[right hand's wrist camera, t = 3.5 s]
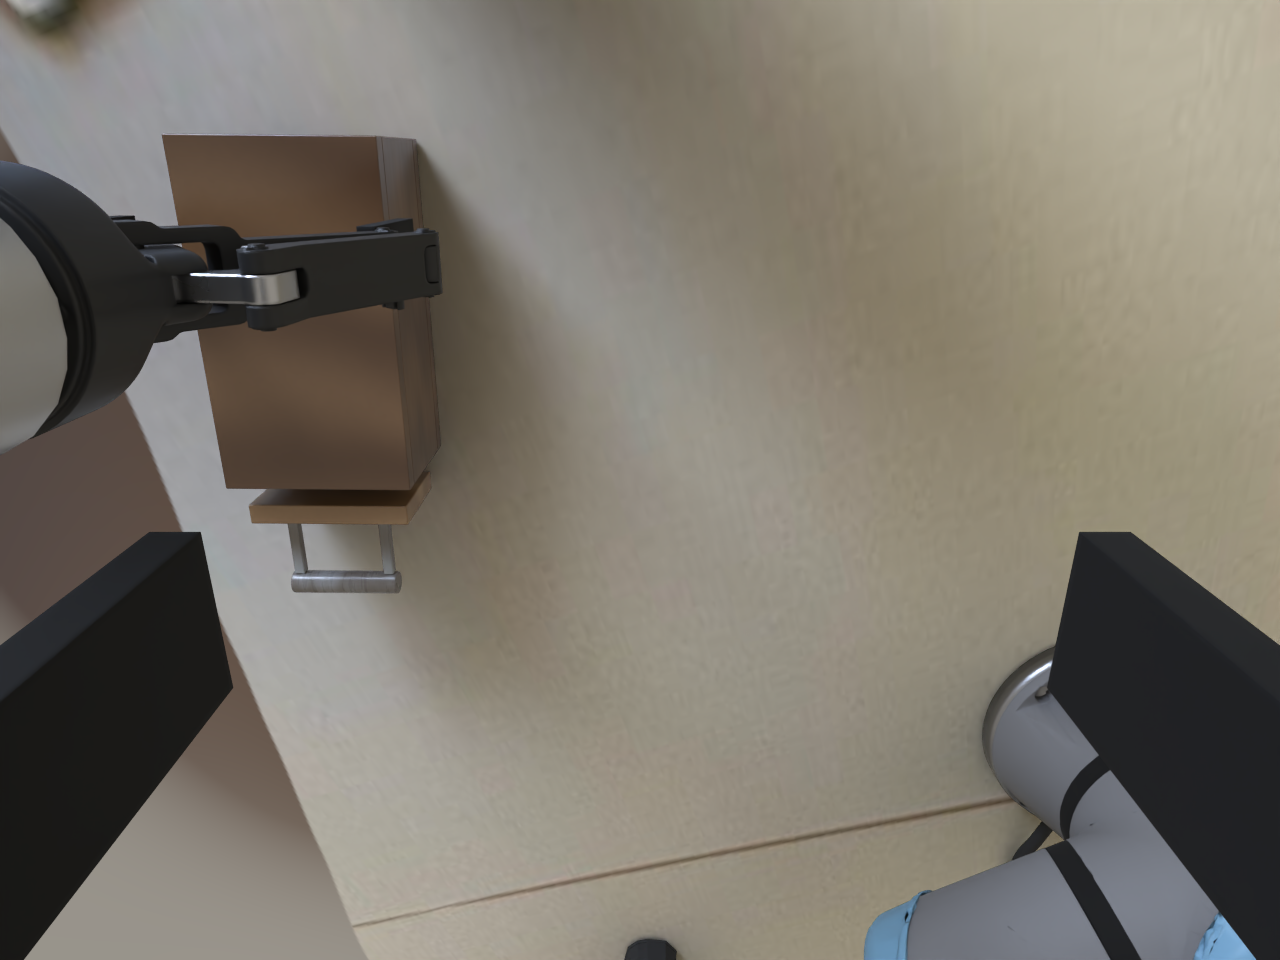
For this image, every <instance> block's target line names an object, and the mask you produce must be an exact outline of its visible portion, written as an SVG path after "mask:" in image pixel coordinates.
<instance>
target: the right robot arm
mask: <svg viewBox="0 0 1280 960" xmlns="http://www.w3.org/2000/svg"><path fill="white" fill-rule="evenodd" d="M232 689H233V684H232V680H231V675H230V670H229V665H228V661H227V656H226V651H225V646H224V641H223V637H222V632H221V627H220V622H219V617H218V613H217V608H216V603H215V598H214V593H213V589H212V584H211V579H210V574H209V570H208V565H207V560H206V555H205V550H204V546H203V541H202V536H201V532H149V533H147V534H146V535H145V536H144V537H142V538H141V539H140V540H138V541H137V542H136V543H134V544H133V545H132V546H130V547H129V548H128V549H126V550H125V551H124V552H123V553H121V554H120V555H119V556H117V557H116V558H115V559H113V560H112V561H111V562H109V563H108V564H107V565H105V566H104V567H103V568H101V569H100V570H99V571H98V572H96V573H95V574H94V575H92V576H91V577H90V578H88V579H87V580H86V581H84V582H83V583H82V584H80V585H79V586H78V587H76V588H75V589H74V590H73V591H71V592H70V593H69V594H67V595H66V596H65V597H63V598H62V599H61V600H59V601H58V602H57V603H55V604H54V605H53V606H51V607H50V608H49V609H48V610H46V611H45V612H44V613H42V614H41V615H40V616H38V617H37V618H36V619H34V620H33V621H32V622H30V623H29V624H28V625H26V626H25V627H24V628H23V629H21V630H20V631H19V632H17V633H16V634H15V635H13V636H12V637H11V638H9V639H8V640H7V641H5V642H4V643H3V644H2V645H0V960H24V959H25V957H26V956H27V955H28V954H29V952H30V951H31V950H32V948H33V947H34V946H35V944H36V943H37V942H38V941H39V939H40V938H41V937H42V935H43V934H44V933H45V931H46V930H47V929H48V928H49V926H50V925H51V924H52V922H53V921H54V920H55V918H56V917H57V916H58V915H59V913H60V912H61V911H62V909H63V908H64V907H65V905H66V904H67V903H68V902H69V900H70V899H71V898H72V896H73V895H74V894H75V893H76V891H77V890H78V888H79V887H80V886H81V885H82V883H83V882H84V881H85V880H86V878H87V877H88V876H89V874H90V873H91V872H92V870H93V869H94V868H95V866H96V865H97V864H98V863H99V861H100V860H101V859H102V857H103V856H104V855H105V853H106V852H107V851H108V850H109V848H110V847H111V846H112V844H113V843H114V842H115V841H116V839H117V838H118V837H119V835H120V834H121V833H122V831H123V830H124V829H125V828H126V826H127V825H128V824H129V822H130V821H131V820H132V818H133V817H134V816H135V815H136V813H137V812H138V811H139V809H140V808H141V807H142V805H143V804H144V803H145V802H146V800H147V799H148V798H149V796H150V795H151V794H152V792H153V791H154V790H155V789H156V787H157V786H158V785H159V783H160V782H161V781H162V779H163V778H164V777H165V776H166V774H167V773H168V772H169V770H170V769H171V768H172V766H173V765H174V764H175V763H176V761H177V760H178V759H179V757H180V756H181V755H182V753H183V752H184V751H185V750H186V748H187V747H188V746H189V744H190V743H191V742H192V741H193V739H194V738H195V737H196V735H197V734H198V733H199V731H200V730H201V729H202V728H203V726H204V725H205V724H206V722H207V721H208V720H209V718H210V717H211V716H212V715H213V713H214V712H215V710H216V709H217V708H218V707H219V705H220V704H221V703H222V702H223V700H224V699H225V698H226V696H227V695H228V694H229V692H230V691H231V690H232ZM982 740H983V748H984V753H985V756H986V759H987V761H988V764H989V766H990V768H991V769H992V771H993V773H994V774H995V776H996V778H997V780H998V781H999V783H1000V785H1001V786H1002V788H1003V789H1004V790H1005V792H1006V793H1007V794H1008V795H1009V796H1010V797H1011V798H1012V799H1013V800H1014V801H1015V802H1017V803H1018V804H1019V805H1021V806H1022V807H1023V808H1025V809H1026V810H1027V811H1029V812H1030V813H1032V814H1034V815H1036V816H1037V817H1038V818H1039V819H1040V820H1041V821H1042V822H1041V823H1040V824H1039V826H1038V827H1037V828H1036V830H1035V831H1034V832H1033V834H1032V835H1031V836H1030V837H1029V838H1028V839H1027V840H1026V841H1025V842H1024V843H1023V844H1022V846H1021V847H1020V848H1019V849H1018V850H1017V851H1016V853H1015V855H1014V857H1013V859H1012V861H1010V862H1007V863H1005V864H1002V865H999V866H997V867H994V868H992V869H989V870H987V871H984V872H981V873H979V874H976V875H974V876H971V877H968V878H966V879H963V880H961V881H958V882H955V883H953V884H950V885H948V886H945V887H943V888H940V889H937V890H935V891H931V890H925V891H922V892H919V893H918V895H916V896H914V897H913V898H912V900H911V901H908V902H906V903H904V904H902V905H899V906H897V907H895V908H893V909H890V910H888V911H886V912H884V913H882V914H881V915H879V916H878V917H877V918H876V920H875V921H874V922H873V924H872V925H871V927H870V928H869V930H868V932H867V935H866V939H865V946H864V960H1280V645H1279V644H1277V643H1276V642H1275V641H1273V640H1272V639H1271V638H1269V637H1268V636H1267V635H1265V634H1264V633H1263V632H1261V631H1260V630H1259V629H1257V628H1256V627H1255V626H1254V625H1252V624H1251V623H1250V622H1248V621H1247V620H1246V619H1244V618H1243V617H1242V616H1240V615H1239V614H1238V613H1236V612H1235V611H1234V610H1232V609H1231V608H1230V607H1229V606H1227V605H1226V604H1225V603H1223V602H1222V601H1221V600H1219V599H1218V598H1217V597H1215V596H1214V595H1213V594H1211V593H1210V592H1209V591H1207V590H1206V589H1205V588H1204V587H1202V586H1201V585H1200V584H1198V583H1197V582H1196V581H1194V580H1193V579H1192V578H1190V577H1189V576H1188V575H1186V574H1185V573H1184V572H1182V571H1181V570H1180V569H1179V568H1177V567H1176V566H1175V565H1173V564H1172V563H1171V562H1169V561H1168V560H1167V559H1165V558H1164V557H1163V556H1161V555H1160V554H1159V553H1157V552H1156V551H1155V550H1154V549H1152V548H1151V547H1150V546H1148V545H1147V544H1146V543H1144V542H1143V541H1142V540H1140V539H1139V538H1138V537H1136V536H1135V535H1134V534H1133V533H1131V532H1079V536H1078V541H1077V546H1076V550H1075V555H1074V560H1073V565H1072V569H1071V574H1070V579H1069V584H1068V589H1067V593H1066V598H1065V603H1064V608H1063V613H1062V617H1061V622H1060V627H1059V632H1058V637H1057V641H1056V646H1055V647H1053V648H1050V649H1048V650H1046V651H1044V652H1042V653H1040V654H1038V655H1037V656H1035V657H1033V658H1032V659H1030V660H1029V661H1027V662H1026V663H1025V664H1023V665H1022V666H1020V667H1019V668H1018V669H1017V670H1016V671H1015V672H1014V673H1013V674H1012V675H1011V676H1010V677H1009V678H1008V679H1007V680H1006V681H1005V682H1004V683H1003V685H1002V686H1001V687H1000V688H999V690H998V691H997V693H996V694H995V696H994V698H993V699H992V701H991V703H990V705H989V708H988V710H987V713H986V716H985V719H984V724H983V733H982ZM1052 831H1054V832H1055V833H1057V834H1058V835H1059V836H1060V837H1061V838H1062V839H1064V840H1065V841H1062V842H1060V843H1057V844H1055V845H1052V846H1049V847H1047V848H1043V849H1041V850H1038V851H1036V850H1037V849H1038V848H1039V847H1040V846H1041V845H1042V843H1043V842H1044V841H1045V840H1046V838H1047V837H1048V836H1049V835H1050V833H1051V832H1052ZM1035 851H1036V852H1035Z"/></svg>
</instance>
